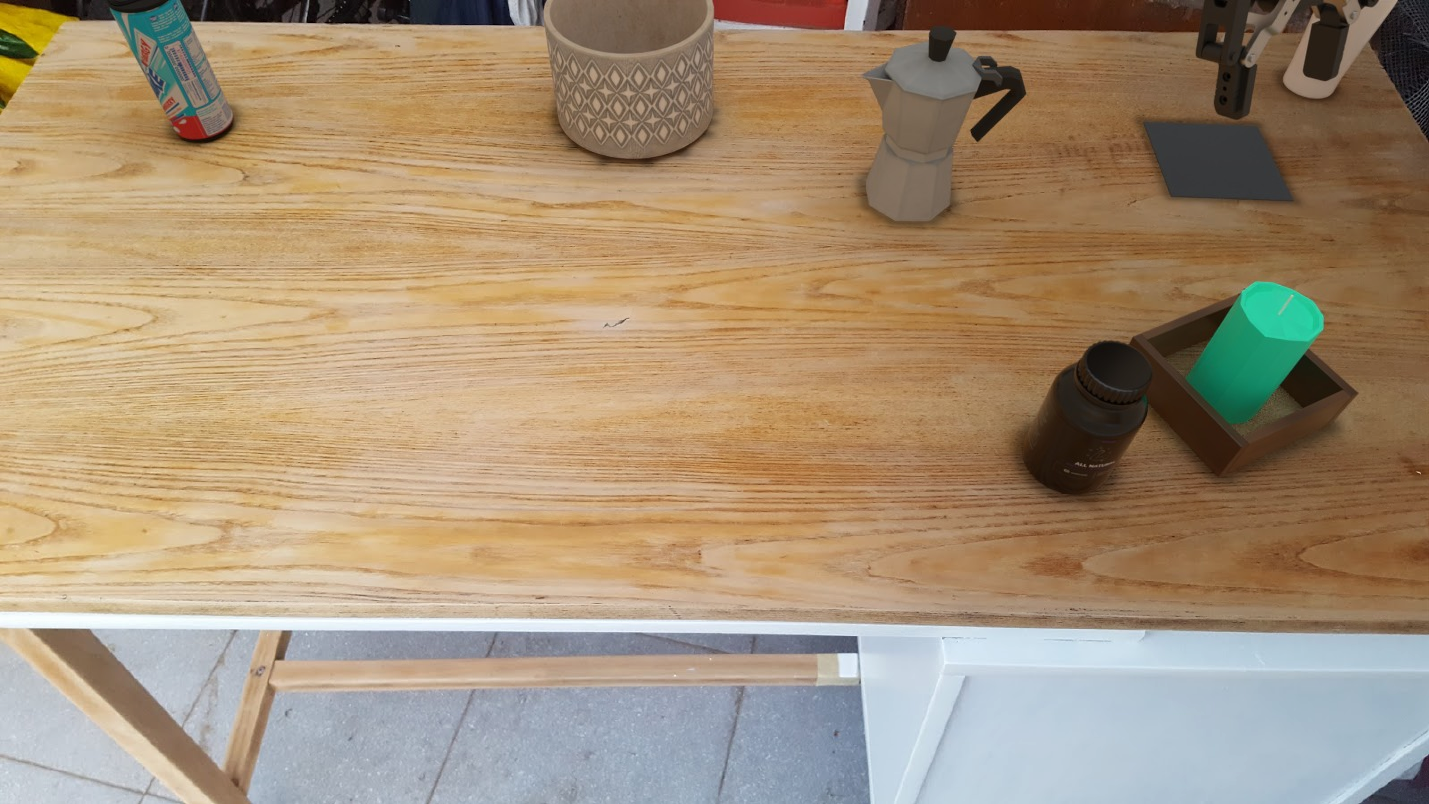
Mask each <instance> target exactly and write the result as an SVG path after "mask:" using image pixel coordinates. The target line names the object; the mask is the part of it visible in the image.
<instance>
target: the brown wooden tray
mask: <svg viewBox="0 0 1429 804" xmlns="http://www.w3.org/2000/svg"><path fill="white" fill-rule="evenodd" d="M1240 294H1241V292H1239V293H1238V294H1235V295H1233V296H1230V297H1228V298H1225V299H1223V300H1220V301H1217V302H1215V303H1213V304H1210V305H1208V306H1206V307H1203V308H1200V309H1198V310H1196V311H1193V312H1191V313H1188V314H1185V315H1183V316H1181V317H1178V318H1176V319H1173V320H1171V321H1168V322H1166V323H1163V324H1161V325H1157V326H1156V327H1154V328H1151V329H1149V330H1146V331H1143V332H1141V333H1138V334H1136V335H1133V336H1132V337H1131V339H1130V341H1129V343H1128V345H1131V346H1132V347H1134V348H1136V349H1138V351H1140V352H1142V353H1143V355H1144V356H1145V357H1147V360H1148V361H1149V362H1150V365H1151V366H1152V371H1153V375H1152V376H1153V379H1152V381H1151V384H1150V385H1149V387H1148V389H1147V391H1146V393H1145V394H1146V397H1147V401H1148V406H1150V407H1151V408H1152V409H1153V410H1154V411H1155V412H1156V413H1157V414H1158V415H1159V417H1160V418H1161V419H1162V420H1163V421H1164V422H1165V423H1166V424H1167V425H1168V426H1169V427H1170V428H1171V429H1172V430H1173V432H1174V433H1176V435H1177V436H1178V437H1179V438H1180V439H1181V440H1182V441H1183V442H1184V443H1185V444H1186V446H1188V447H1189V448H1190V450H1191V451H1192V452H1193V453H1194V454H1195V455H1196V456H1197V457H1198V458H1199V459H1200V460H1201V462H1202V463H1204V465H1206V467H1207V468H1208V469H1209V470H1210V471H1211V472H1212V473H1213V474H1214V475H1215V476H1216V477H1217V478H1220V477H1222V476H1224V475H1226V474H1228V473H1230V472H1233V471H1234V470H1236V469H1238V468H1241V467H1243V466H1245V465H1248V464H1250V463H1252V462H1254V461H1256V460H1258V459H1260V458H1262V457H1265V456H1266V455H1269V454H1271V453H1273V452H1275V451H1277V450H1279V449H1281V448H1283V447H1286V446H1288V445H1291V444H1292V443H1294V442H1296V441H1299V440H1300V439H1302V438H1305V437H1307V436H1309V435H1311V434H1313V433H1315V432H1318V431H1320V430H1322V429H1324V428H1326V427H1329V426H1331V425H1332V424H1333V423H1334V421H1335V420H1337V418H1338V417H1339V416H1340V415H1341V414H1342V413H1343V412H1344V411H1345V410H1346V408H1347V407H1348V406H1349V405H1350V404H1351V403H1352V401H1354V399H1355V398H1356V397H1358V395H1359V392H1358V391H1357V390H1356V389H1355V388H1354V387H1353V386H1352V385H1350V384H1349V383H1348V382H1347V381H1346V380H1345V379H1344V378H1343V377H1342V376H1341V375H1339V374H1338V373H1337V372H1336V371H1335V370H1334V369H1333V368H1331V367H1330V366H1329V365H1328V364H1327V363H1326V362H1325V361H1324V360H1322V359H1321V358H1320V357H1319V356H1318V355H1317V354H1316V353H1314V352H1313V350H1311V349H1310V347H1309V348H1308V349H1307V351H1306V352H1305V353H1304V355H1303V356H1302V357H1301V358H1300V360H1299V361H1298V362H1297V363H1296V365H1295V366H1294V367H1293V369H1292V370H1291V371H1290V372H1289V374H1288V375H1287V376H1286V378H1285V379H1284V380H1283V381H1282V383H1281V384H1280V385H1279V387H1280V388H1281V389H1282V390H1283V391H1285V392H1286V393H1287V394H1288V395H1289V396H1290V397H1291V398H1292V399H1293V400H1294V401H1296V403H1297V404H1298V405H1299V406H1300V407H1302V408H1300V409H1298V410H1296V411H1293V412H1292V413H1289V414H1287V415H1285V416H1283V417H1281V418H1279V419H1276V420H1274V421H1271V422H1270V423H1267V424H1265V425H1263V426H1261V427H1259V428H1257V429H1254V430H1252V431H1250V432H1248V433H1246V434H1243V435H1241V434H1240V433H1239V432H1238V431H1237V430H1236V429H1235V428H1234V426H1232V424H1229V423H1228V422H1227V421H1226V420H1225V419H1224V418H1223V417H1222V416H1221V415H1220V414H1219V413H1218V412H1217V411H1216V410H1215V409H1214V408H1213V407H1212V406H1211V405H1210V404H1209V403H1208V402H1207V401H1206V400H1205V399H1204V398H1203V397H1202V396H1201V395H1200V394H1199V393H1198V392H1197V391H1196V390H1195V388H1194V387H1193V386H1192V385H1191V384H1190V383H1189V382H1188V381H1187V380H1186V378H1185V377H1184V375H1182V374H1181V373H1180V372H1179V371H1178V370H1177V369H1176V368H1175V367H1174V366H1173V365H1172V364H1171V363H1170V361H1168V360H1167V359H1166V357H1168V356H1170V355H1172V354H1173V355H1174V354H1175V353H1178V352H1180V351H1183V350H1185V349H1187V348H1189V347H1192V346H1194V345H1197V344H1199V343H1202V342H1204V341H1206V340H1209V339H1212V337H1213V336H1214V334H1215V332H1216V331H1217V329H1218V328H1219V326H1220V325H1221V323H1222V322H1223V320H1224V319H1225V317H1226V316H1227V314H1228V312H1229V311H1230V309H1231V308H1232V306H1233V305H1234V303H1235V302H1236V300H1237V299H1238V297H1239V296H1240Z"/></svg>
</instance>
